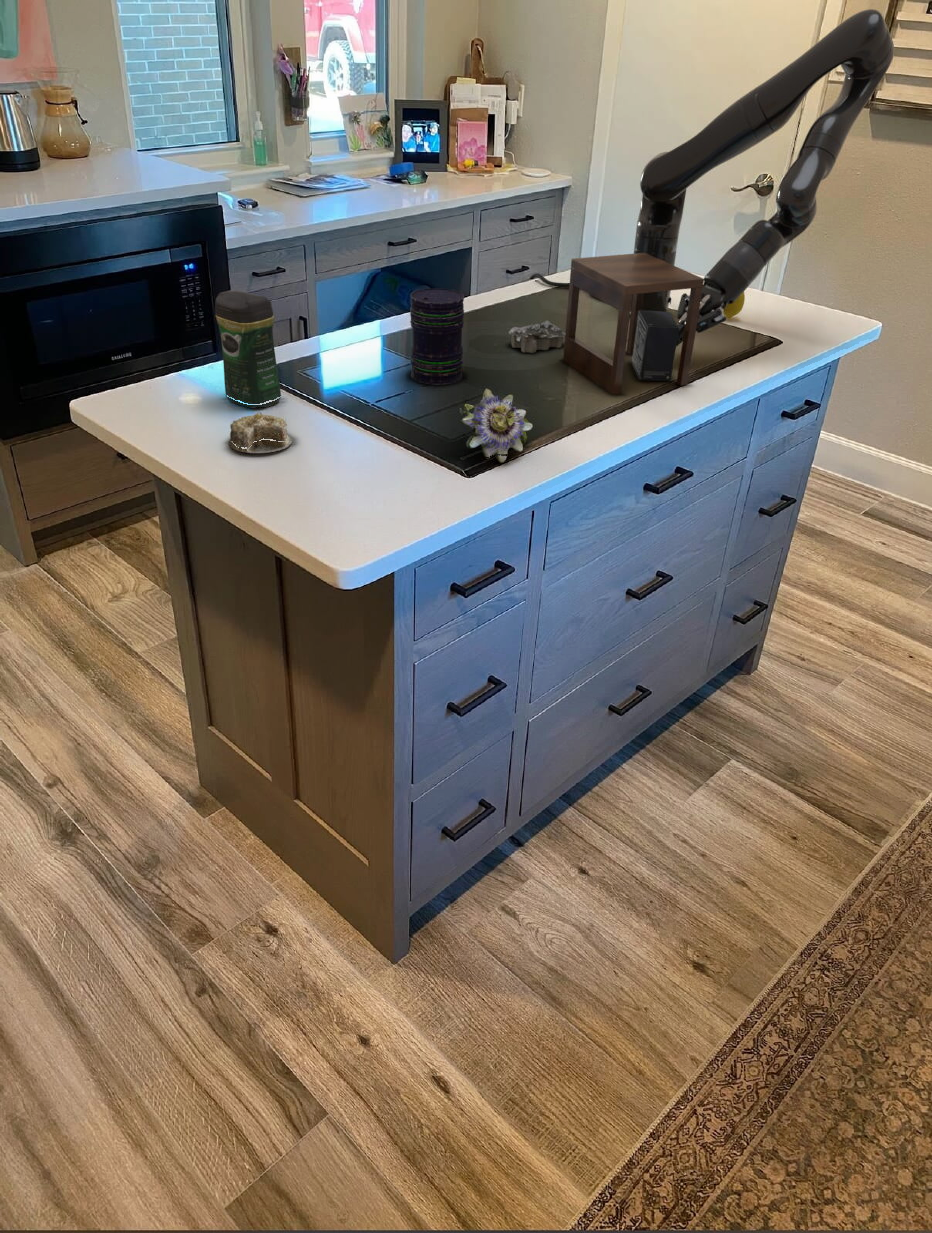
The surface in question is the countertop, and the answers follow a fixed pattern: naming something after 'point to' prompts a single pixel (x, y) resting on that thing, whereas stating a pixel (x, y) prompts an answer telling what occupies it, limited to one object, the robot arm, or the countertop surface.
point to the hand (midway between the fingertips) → (671, 342)
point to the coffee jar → (248, 348)
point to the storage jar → (436, 335)
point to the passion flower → (496, 425)
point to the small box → (654, 345)
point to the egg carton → (537, 337)
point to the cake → (259, 434)
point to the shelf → (625, 310)
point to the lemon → (734, 307)
